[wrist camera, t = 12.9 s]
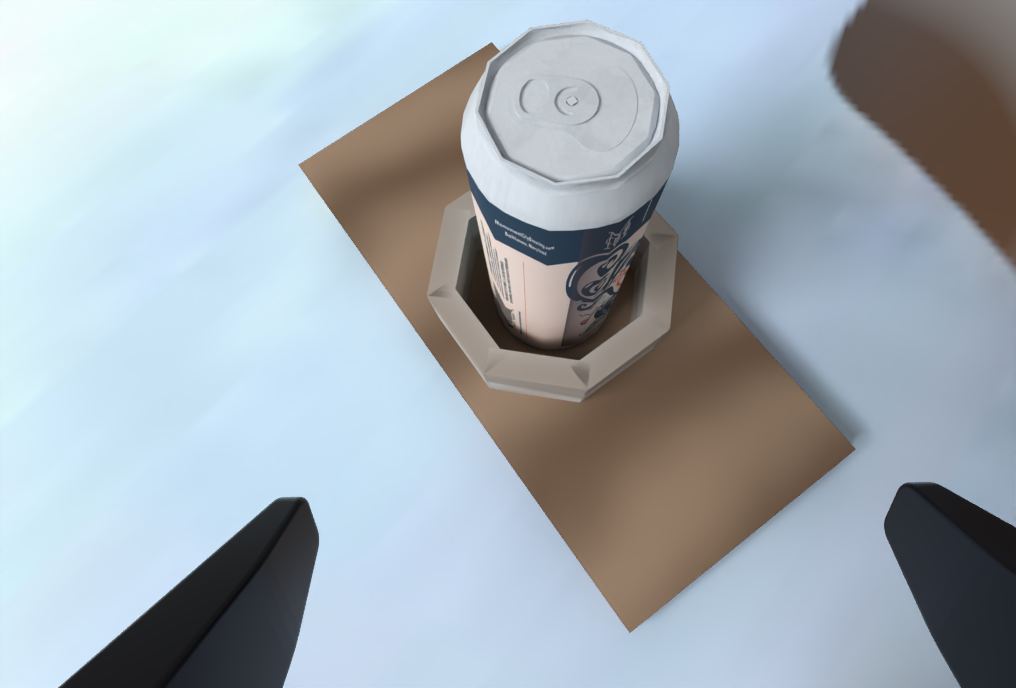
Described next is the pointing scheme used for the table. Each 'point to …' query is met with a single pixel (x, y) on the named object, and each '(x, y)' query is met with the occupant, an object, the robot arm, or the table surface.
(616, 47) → the beer can
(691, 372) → the socket board
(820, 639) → the table surface
